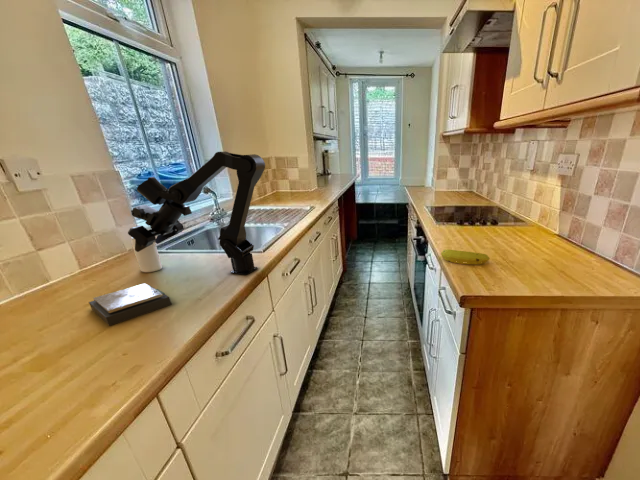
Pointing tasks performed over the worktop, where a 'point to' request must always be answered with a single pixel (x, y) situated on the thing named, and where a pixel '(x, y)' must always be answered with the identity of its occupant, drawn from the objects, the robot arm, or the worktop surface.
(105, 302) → the scale pan
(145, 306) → the scale
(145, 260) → the can
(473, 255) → the banana
